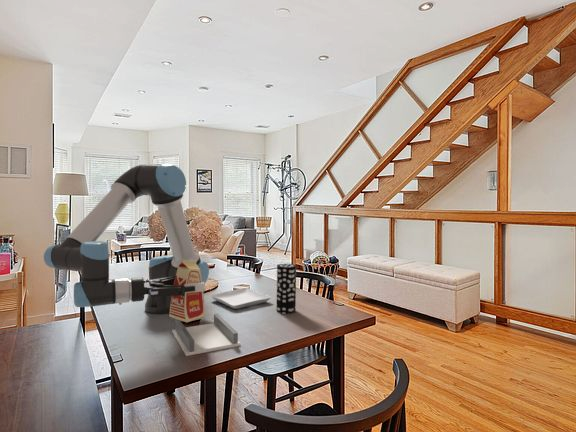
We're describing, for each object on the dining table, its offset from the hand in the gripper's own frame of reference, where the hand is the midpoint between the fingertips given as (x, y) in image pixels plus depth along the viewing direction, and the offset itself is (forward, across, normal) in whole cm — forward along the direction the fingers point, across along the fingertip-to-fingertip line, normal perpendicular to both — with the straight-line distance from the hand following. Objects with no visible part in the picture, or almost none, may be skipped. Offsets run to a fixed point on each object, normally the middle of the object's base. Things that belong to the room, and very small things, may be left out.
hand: (200, 283), depth 127 cm
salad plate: (+28, -37, -20) cm, 50 cm away
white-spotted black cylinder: (+41, -16, -20) cm, 49 cm away
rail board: (+2, 0, -20) cm, 20 cm away
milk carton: (-4, 0, -11) cm, 12 cm away
